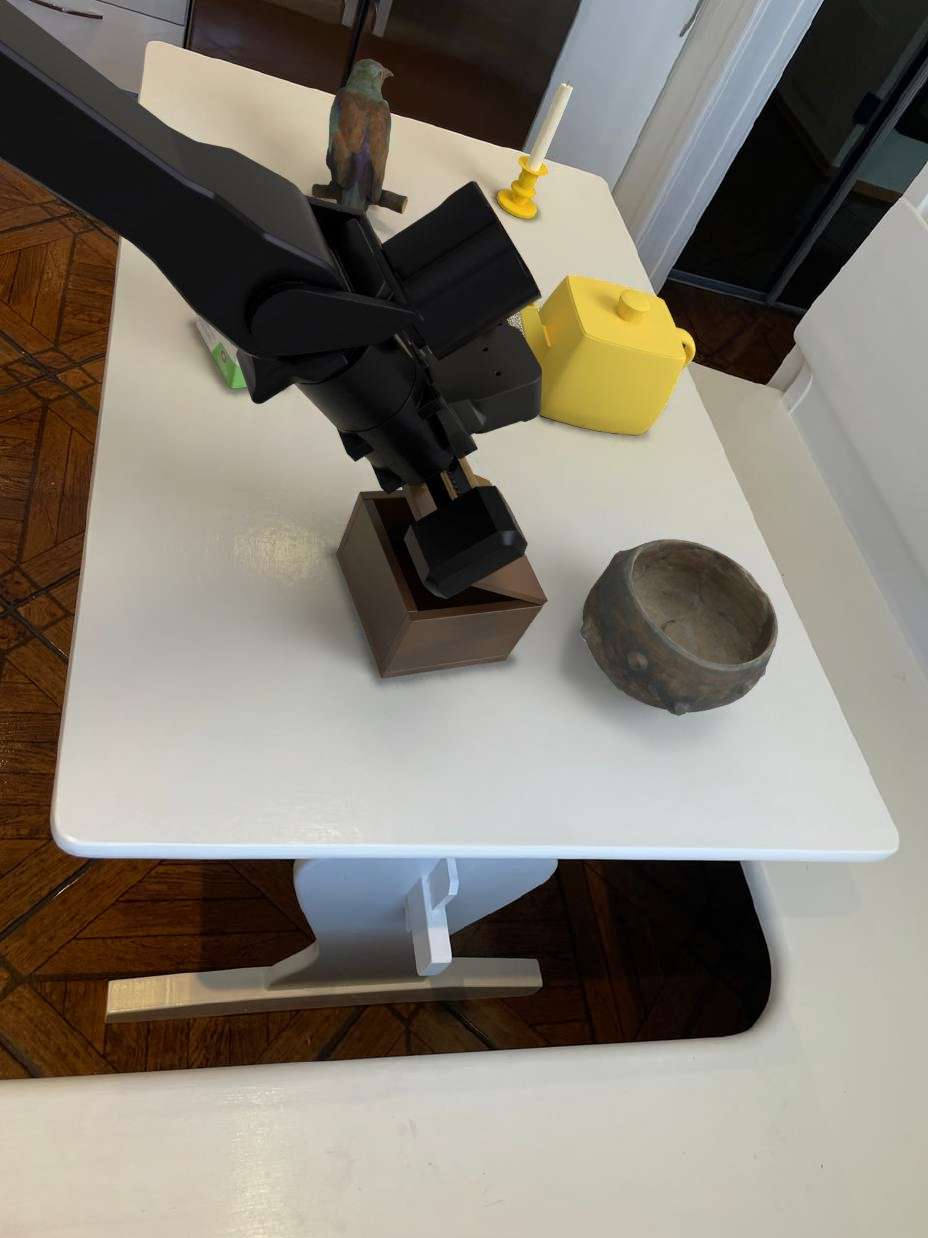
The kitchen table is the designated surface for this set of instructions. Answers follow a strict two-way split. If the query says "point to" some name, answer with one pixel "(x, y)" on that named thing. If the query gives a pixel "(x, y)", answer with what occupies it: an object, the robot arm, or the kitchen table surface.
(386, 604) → the chest
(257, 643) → the kitchen table surface
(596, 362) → the teapot
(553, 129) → the candle
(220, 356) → the ink box
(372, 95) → the bird figurine
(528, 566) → the lid
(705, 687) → the bowl
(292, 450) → the kitchen table surface
